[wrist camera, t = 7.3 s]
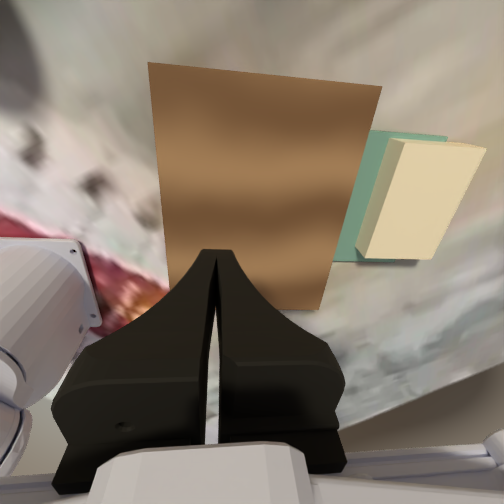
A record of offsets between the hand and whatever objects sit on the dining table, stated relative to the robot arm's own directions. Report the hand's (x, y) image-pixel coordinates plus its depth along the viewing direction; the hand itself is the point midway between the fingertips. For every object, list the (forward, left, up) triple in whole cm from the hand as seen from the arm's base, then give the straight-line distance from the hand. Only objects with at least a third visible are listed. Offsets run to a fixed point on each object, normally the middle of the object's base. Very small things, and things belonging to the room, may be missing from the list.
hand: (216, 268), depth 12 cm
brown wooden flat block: (0, -3, -10) cm, 11 cm away
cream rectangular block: (0, -15, -8) cm, 17 cm away
